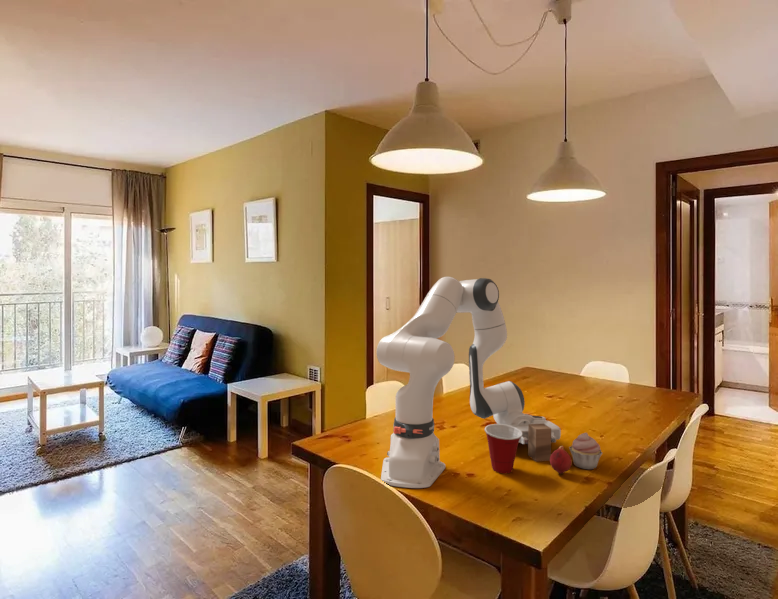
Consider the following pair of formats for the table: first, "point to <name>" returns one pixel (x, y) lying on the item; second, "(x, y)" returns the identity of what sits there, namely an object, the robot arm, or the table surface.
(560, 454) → the onion
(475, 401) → the robot arm
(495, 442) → the plastic cup
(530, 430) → the walnut block
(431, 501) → the table surface
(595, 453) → the cupcake
